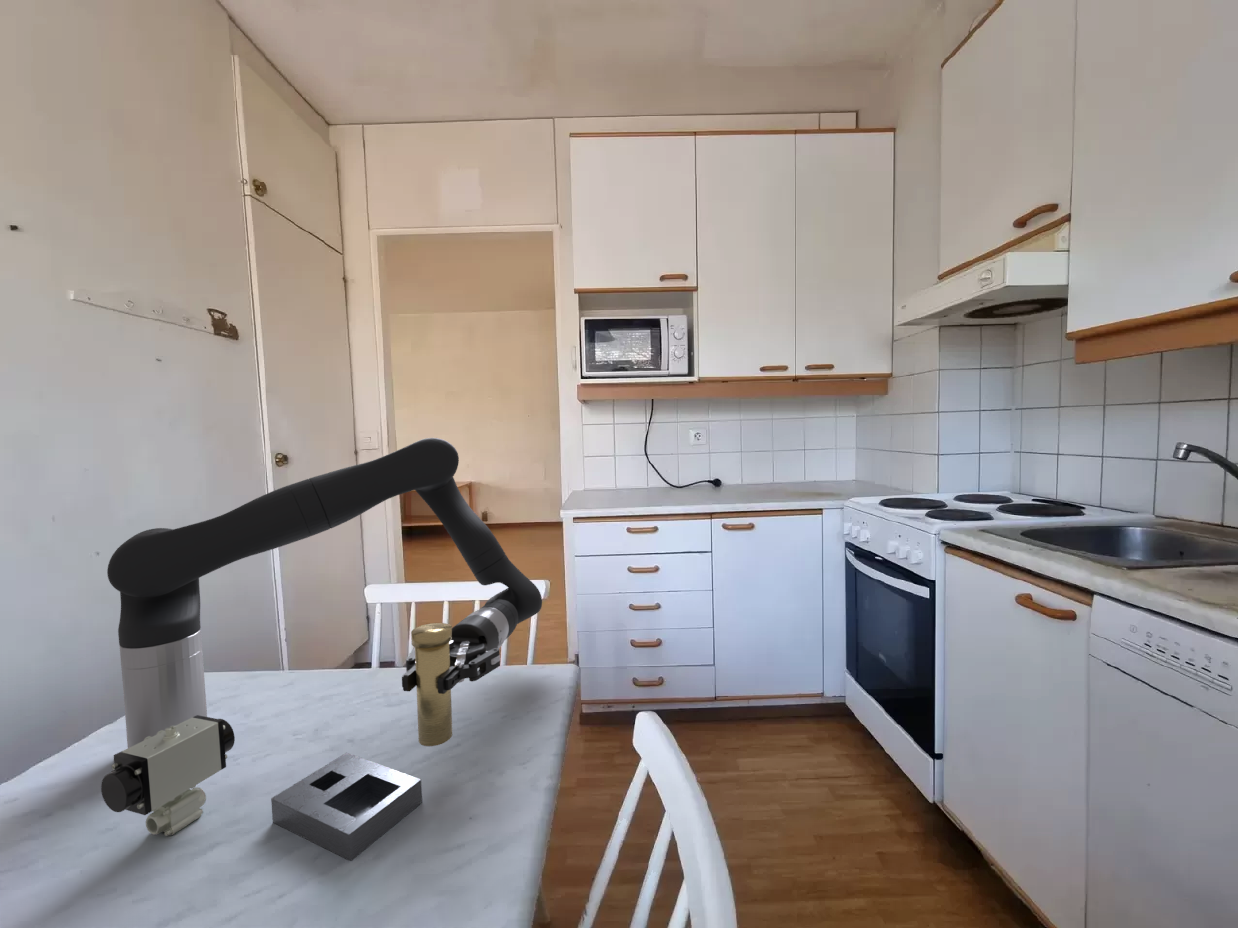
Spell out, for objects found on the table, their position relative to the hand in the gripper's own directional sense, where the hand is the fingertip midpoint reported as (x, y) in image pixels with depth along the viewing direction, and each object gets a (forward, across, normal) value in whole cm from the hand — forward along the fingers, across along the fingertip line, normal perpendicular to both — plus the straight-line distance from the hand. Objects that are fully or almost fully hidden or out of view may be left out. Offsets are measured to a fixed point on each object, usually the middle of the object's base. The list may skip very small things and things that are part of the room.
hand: (423, 685), depth 69 cm
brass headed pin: (-3, 0, +8) cm, 9 cm away
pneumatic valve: (+11, -27, +14) cm, 32 cm away
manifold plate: (+6, -7, +13) cm, 16 cm away
